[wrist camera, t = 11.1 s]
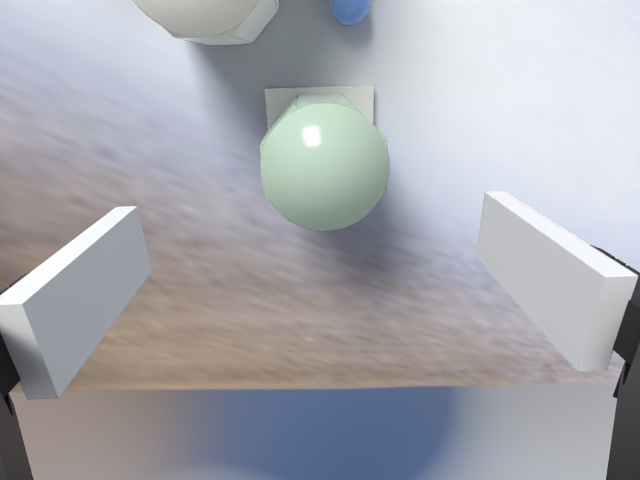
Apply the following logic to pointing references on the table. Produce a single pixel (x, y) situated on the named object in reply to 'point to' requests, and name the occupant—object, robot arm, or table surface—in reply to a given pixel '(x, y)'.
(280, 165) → the sage green dome
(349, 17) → the marble
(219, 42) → the cream cup
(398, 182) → the table surface
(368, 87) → the coaster
